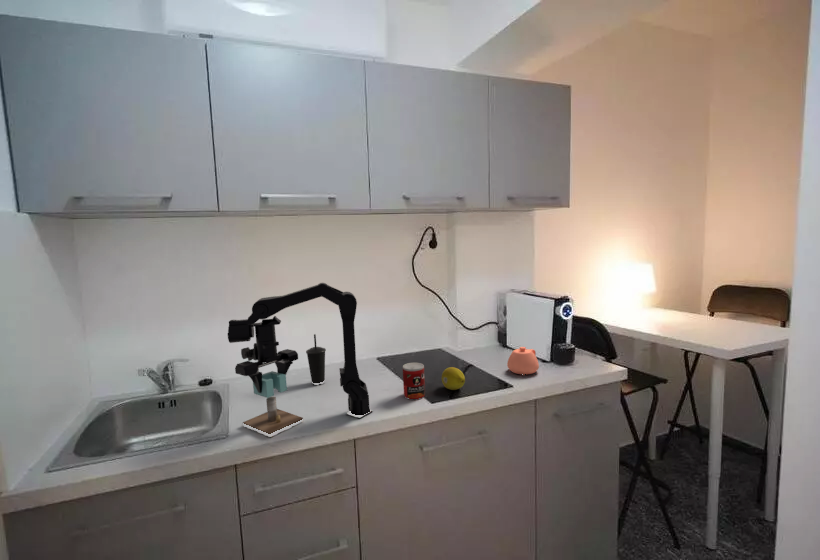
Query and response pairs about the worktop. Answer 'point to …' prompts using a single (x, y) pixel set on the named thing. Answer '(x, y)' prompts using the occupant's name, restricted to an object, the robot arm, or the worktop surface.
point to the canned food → (413, 380)
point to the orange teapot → (523, 361)
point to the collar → (272, 384)
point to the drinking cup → (316, 362)
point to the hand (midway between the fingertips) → (270, 388)
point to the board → (272, 425)
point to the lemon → (453, 378)
